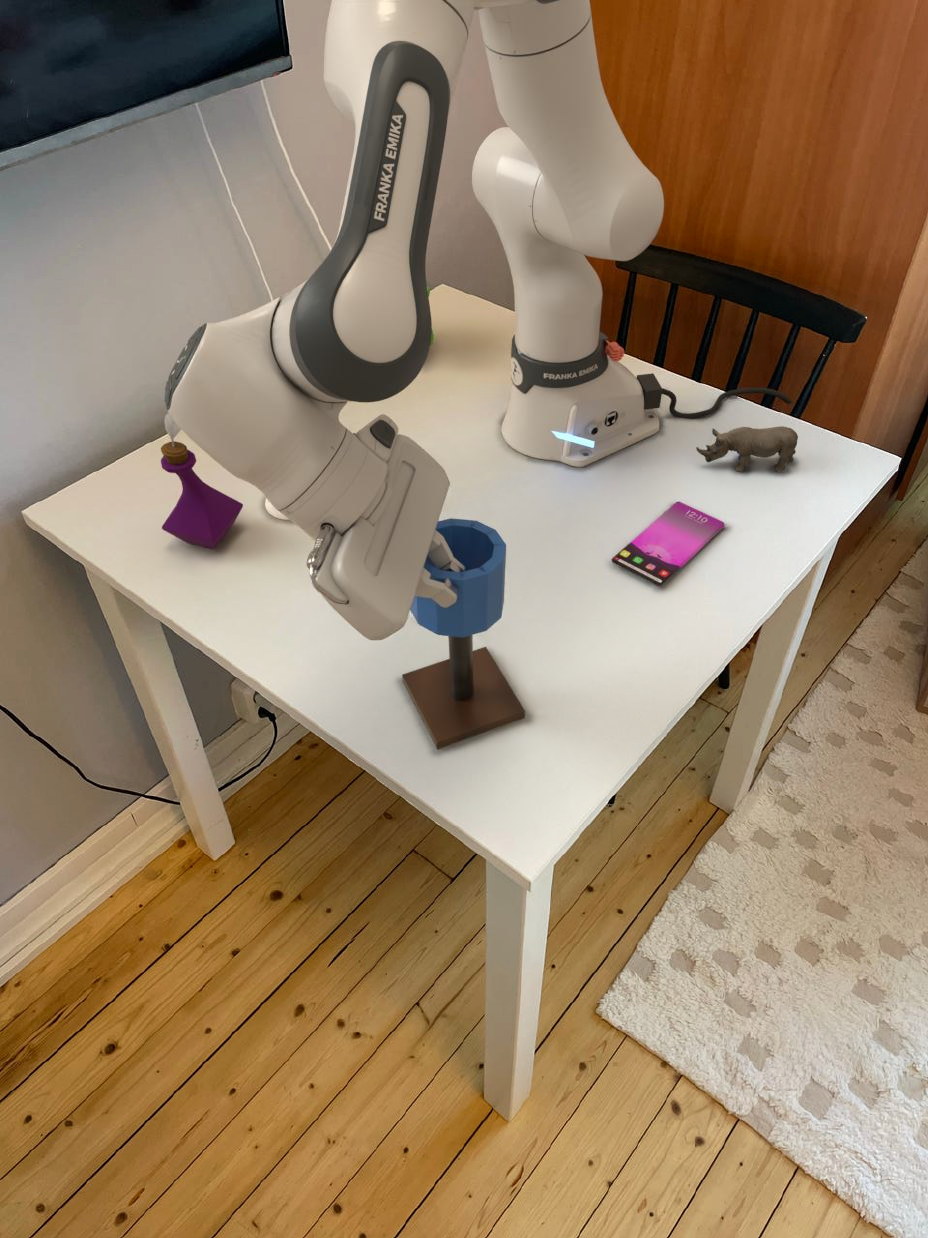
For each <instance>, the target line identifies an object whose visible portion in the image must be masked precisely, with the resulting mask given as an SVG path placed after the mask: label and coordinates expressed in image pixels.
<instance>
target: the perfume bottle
mask: <svg viewBox="0 0 928 1238" xmlns="http://www.w3.org/2000/svg"><path fill="white" fill-rule="evenodd" d="M163 421H164V429H165V431H166V433H167V434H168V436H169V438H170V441H168V442H166V443H164V444H162V446H161V447H160V452H161V454H162V457H161V459H160V465H161V469H162V470H164V472H167V473H169V474H175V475H177V476H178V478H179V480H180V482H181V486H182V487H181V488H182V491H181V494H180V496H179V498H178V500H177V502H176V504H175V506H174V508H173V509H172V511H170V514H169V515H168V516H167V518H166V519H165V521H164V523H163V524H162V525H161V529H162V530H163V531H165V532H166V533H168V534H170V535H172V536H173V537H176V538H177V539H179V540H181V541H182V542H185V543H186V544H190V545H193V546H194V545H195V546H199V547H203V548H207V549H211V550H215V549H216V548H217V547H218V546H219V545H220V543H221V542H222V541H223V539H224V538H225V537H226V536H227V534H228V533H230V531H231V530H232V527H233V526H234V524H235V522H236V520H237V519H238V516H239V515H240V513H241V511H242V509H243V507H244V504H243V503H242V502H240V501H238V500H236V499H235V498H233V497H231V496H229V495H227V494H225V493H223V492H222V491H219V490H218V489H216V488H214V487H212V486H211V485H209V484H207V483H206V482H204V481H203V480H202V479H201V478H200V476H198V475H197V473H196V472H195V471H194V470H193V468H194V467H195V465H196V463H197V458H196V454H195V453H194V452H192V451H191V450H190V449H188V446H187V445H185V444H184V443H182V442H180V441H174V439H175V438H176V437H177V436H178V434H179V433H180V432H181V431H182V430H181V429H180V427H179V426H178V425H177V424H176V423H175V422H174V420H173V419H172V417H171V416H170V414H169V412H168V411H167V413H166V415H165V416H164V420H163Z"/></svg>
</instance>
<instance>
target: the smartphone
mask: <svg viewBox="0 0 928 1238" xmlns="http://www.w3.org/2000/svg"><path fill="white" fill-rule="evenodd" d="M724 527H725V522H724V521H722V520H720V519H718V518H716V517H714V516H712V515H710V514H707V513H705V512H703V511H700V510H698V509H696V508H694V507H692V506H690V505H688V504H686V503H683V502H681V501H675V502H674V503H673V504H672V505H671V506H670V507H669V508H668V509H667V510H665V511H664V512H663V513H662V514H661V515H660V516H659V517H657V518H656V519H655V520H654V521H653V522H652V523H651V524H650V525H649V526H647V527H646V528H645V529H644V530H642V532H640V533H639V534H638V535H637V536H636V537H635V538H634V539H632V540H631V541H630V542H629V543H627V545H625V546H624V547H623V548H622V549H621V550H620V551H619V552H618V553H617V554H615V555H614V556H613V557H612V558H611V562H612V564H615V565H616V566H619V567H621V568H623V569H625V570H626V571H628V572H631V573H632V574H633V575H636V576H638V577H640V578H642V579H644V580H645V581H648V582H650V583H652V584H653V585H654V586H657V587H662V586H664V584H665V583H667V582H668V581H669V580H670V579H671V578H672V577H673V576H674V575H675V574H676V573H677V572H678V571H680V570H681V568H682V567H683V566H685V564H687V563H688V561H690V560H691V559H692V558H693V557H694V556H696V554H697V553H698V552H699V551H700V550H702V548H703V547H705V546H706V545H707V544H708V543H709V542H710V541H711V540H712V539H713V538H714V537H715V536H716V535H718V533H719V532H720V531H721V530H723V528H724Z"/></svg>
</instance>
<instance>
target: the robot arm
mask: <svg viewBox="0 0 928 1238" xmlns="http://www.w3.org/2000/svg"><path fill="white" fill-rule="evenodd" d="M474 11H477V12H478V19H479V26H480V30H481V36H482V41H483V45H484V49H485V53H486V59H487V63H488V68H489V73H490V78H491V83H492V87H493V92H494V96H495V101H496V105H497V109H498V111H499V114H500V115H501V117H502V119H503V121H504V123H505V124H506V125H507V126H503V127H499V128H497V129H495V130H493V131H492V132H491V133H489V135H488V136H486V138H485V139H484V140H483V142H482V143H481V144H480V146H479V148H477V149H478V150H477V151H476V154H475V157H474V161H473V163H472V168H471V170H472V171H471V185H472V191H473V193H474V197H475V198H476V200H477V202H478V203H479V205H481V207H482V208H483V209H484V210H485V212H486V214H487V215H488V216H489V218H490V220H491V221H492V223H493V226H494V228H495V230H496V232H497V235H498V236H499V239H500V242H501V244H502V248H503V250H504V253H505V256H506V260H507V263H508V266H509V270H510V273H511V279H512V284H513V292H514V293H513V294H514V295H513V297H514V334H513V336H512V338H511V345H510V348H511V349H510V365H509V366H510V379H511V387H510V393H509V399H508V404H507V409H506V412H505V416H504V418H503V421H502V423H501V427H500V429H501V435H502V437H503V439H504V441H505V443H506V444H508V445H509V446H510V447H511V448H512V449H513V450H515V451H517V452H519V453H520V454H522V455H525V456H528V457H530V458H535V459H540V460H547V461H554V462H555V461H556V462H560V463H563V464H566V465H568V466H572V467H576V468H583V467H586V466H588V465H591V464H593V463H595V462H597V461H598V460H601V459H604V458H606V457H607V456H610V455H612V454H614V453H617V452H619V451H621V450H622V449H624V448H626V447H629V446H632V445H633V444H636V443H639V442H640V441H642V440H645V439H647V438H649V437H651V436H653V435H655V434H657V433H658V432H659V431H660V419H659V415H658V413H657V412H656V410H655V409H661V403H662V396H663V395H665V396H666V397H668V398H669V399H670V403H669V407H668V410H669V413H670V414H671V415H672V416H674V417H675V418H677V419H678V418H679V419H686V420H687V419H688V420H689V419H690V420H692V419H698V418H702V417H707V416H710V415H712V414H715V413H716V412H717V411H718V409H719V408H720V407H721V405H722V402H723V401H724V400H725V399H726V398H730V397H733V396H739V395H744V394H745V395H746V394H763V395H764V394H766V395H770V396H774V397H776V398H778V399H780V400H781V401H782V402H784V403H785V404H787V405H790V404H793V401H792V399H791V398H789V397H788V396H787V395H786V394H784V393H783V392H780V391H778V390H775V389H773V388H767V387H744V388H738V389H737V388H736V389H732V390H728V391H725V392H723V393H721V394H719V396H718V397H717V398H716V401H715V402H714V404H713V406H712V407H710V408H708V409H705V410H701V411H697V412H691V413H684V412H680V411H678V410H676V406H677V402H678V401H677V396H676V394H675V393H674V392H672V390H670V389H667V388H663V387H662V386H661V383H660V382H659V381H658V379H657V377H656V376H655V374H654V373H643V374H637V375H636V376H635V374H634V373H633V372H632V371H631V370H630V369H629V368H628V367H627V366H625V365H624V364H623V363H621V362H620V361H621V360H622V358H624V356H625V350H624V348H623V347H622V346H621V345H620V344H619V343H618V342H617V341H611V342H610V341H609V337H608V336H607V335H606V334H605V333H603V332H602V331H600V329H601V328H600V327H601V317H602V305H603V296H604V295H603V294H604V292H603V286H602V282H601V279H600V277H599V274H598V273H597V271H596V269H594V266H592V265H591V263H590V262H589V260H588V259H587V258H586V256H587V257H588V258H594V259H595V258H596V259H601V260H602V259H603V260H609V261H618V262H628V261H630V260H633V259H634V258H636V257H638V256H639V255H641V254H643V252H645V250H646V249H647V248H648V247H649V246H650V245H651V243H652V242H653V240H654V239H655V238H656V236H657V234H658V233H659V229H660V227H661V225H662V222H663V218H664V211H665V198H664V192H663V187H662V184H661V182H660V180H659V179H658V177H657V176H655V175H654V174H653V173H652V172H651V170H650V169H648V167H647V166H646V165H644V164H643V162H642V161H641V159H640V158H639V156H638V155H637V154H636V153H635V151H634V150H633V148H632V147H631V145H630V144H629V142H628V140H627V139H626V137H625V135H624V133H623V131H622V129H621V127H620V125H619V123H618V121H617V119H616V116H615V114H614V113H613V110H612V108H611V106H610V103H609V100H608V97H607V96H606V92H605V90H604V89H605V88H604V85H603V82H602V79H601V72H600V67H599V60H598V54H597V48H596V39H595V32H594V25H593V19H592V18H593V17H592V8H591V1H590V0H331V1H330V7H329V12H328V16H327V22H326V28H325V36H324V47H323V48H324V49H323V72H322V73H323V76H322V79H323V85H324V87H325V89H326V92H327V94H328V96H329V98H330V99H331V102H332V103H333V104H334V106H335V107H336V109H337V110H338V111H339V112H340V114H341V115H342V116H343V117H344V118H345V119H346V120H347V121H349V122H350V123H352V125H354V130H355V131H354V147H353V152H352V156H351V161H350V167H349V172H348V178H347V183H346V190H345V195H344V201H343V205H342V206H343V207H342V211H341V216H340V221H339V227H338V231H337V235H336V238H335V241H334V243H333V244H332V247H331V249H330V251H329V252H328V254H327V256H326V257H325V258H324V260H323V261H322V262H321V264H320V265H319V266H318V267H317V269H316V270H315V271H314V272H313V273H312V274H311V276H310V277H309V278H308V279H306V280H305V281H304V282H302V283H301V282H300V284H298V285H296V286H294V287H293V288H292V289H290V290H288V291H287V292H285V293H283V294H282V295H280V296H278V297H276V298H275V299H273V300H271V301H269V302H267V303H266V304H263V305H262V306H259V307H257V308H255V309H253V310H250V311H248V312H245V313H243V314H240V315H237V316H234V317H231V318H228V319H225V320H221V321H218V322H205V323H204V324H202V325H201V326H199V327H198V328H197V329H196V330H195V331H194V333H193V334H192V335H191V336H190V337H189V339H188V340H187V343H186V345H185V346H184V347H183V348H182V349H181V352H180V354H179V355H178V357H177V359H176V361H175V363H174V364H173V367H172V369H171V371H170V372H169V375H168V379H167V381H166V383H165V388H164V402H165V405H166V406H165V407H166V410H167V413H168V412H169V414H170V416H171V417H172V419H173V420H174V422H175V423H176V424H177V425H178V426H179V427H180V429H181V430H180V431H182V432H183V433H184V434H185V435H186V436H187V437H188V438H189V439H190V440H191V441H193V443H194V444H196V446H197V447H199V449H201V450H202V451H203V452H204V453H205V454H206V455H208V457H210V458H211V459H213V461H215V462H216V463H217V464H219V465H220V466H221V467H222V468H223V469H225V470H226V471H227V472H228V473H230V475H232V476H234V477H235V478H237V479H239V480H242V481H243V482H247V483H249V484H251V485H252V486H254V487H255V488H257V490H259V491H260V492H261V493H262V494H263V495H264V497H265V499H266V498H267V499H268V500H269V502H270V503H271V504H272V506H273V507H274V508H275V509H277V510H278V511H279V512H280V513H282V514H283V515H284V516H286V517H287V518H288V519H289V520H288V521H290V522H292V523H293V524H294V525H295V526H297V527H298V528H299V529H300V530H301V531H303V532H304V533H306V534H307V535H308V536H309V537H311V538H312V539H313V540H315V541H314V545H313V549H312V550H310V552H309V554H308V557H307V560H306V567H307V568H308V572H309V578H310V580H311V585H312V587H313V588H314V589H315V590H316V591H317V592H318V593H319V594H320V595H321V596H322V597H323V598H324V600H325V601H326V602H327V603H328V604H329V606H330V607H331V608H332V609H333V610H334V611H335V612H336V613H337V614H338V615H340V617H341V618H343V620H344V621H346V622H347V623H348V624H349V626H351V627H352V628H353V629H355V630H356V631H357V632H358V633H359V634H361V635H362V636H363V637H364V638H365V639H367V640H369V641H383V640H386V639H388V638H389V637H390V636H392V635H394V634H396V633H397V632H398V631H400V630H401V629H403V628H404V627H405V626H406V623H407V620H408V617H409V614H410V612H411V610H410V608H411V605H412V602H413V599H414V596H419V597H425V598H432V599H433V600H434V601H435V602H437V603H438V604H439V605H440V606H442V607H444V608H447V607H449V606H451V605H452V604H454V603H455V602H456V600H457V596H458V592H459V587H458V586H456V585H454V584H453V582H452V581H450V580H449V579H448V578H446V579H444V580H443V581H441V582H438V581H435V580H432V579H429V578H430V576H431V574H430V573H429V572H428V571H427V570H426V569H425V568H423V567H424V564H425V561H426V558H427V555H428V556H429V557H430V559H431V560H432V562H433V563H434V565H435V566H436V568H438V569H440V570H443V571H454V572H464V570H465V567H464V565H462V564H461V563H460V562H459V561H458V560H457V559H455V558H454V557H453V554H452V552H451V550H450V548H449V547H448V545H447V543H446V541H445V539H444V537H443V536H442V535H441V534H440V533H439V532H438V531H436V526H437V523H438V521H440V516H441V514H442V510H443V507H444V505H445V501H446V497H447V494H448V491H449V488H450V485H451V482H450V479H449V476H448V475H447V472H446V470H445V469H444V467H443V466H442V465H441V464H440V463H439V462H438V461H437V460H436V459H435V458H434V457H433V456H432V455H431V454H430V453H429V452H427V451H426V450H425V449H424V448H423V447H422V446H420V445H419V444H418V443H417V442H416V441H415V440H413V439H412V438H411V437H409V436H407V435H406V434H402V433H401V434H399V426H398V425H397V423H396V422H395V421H394V420H393V419H392V418H391V417H389V416H388V415H387V414H384V413H383V414H380V415H378V416H377V417H375V418H374V419H372V420H371V421H370V422H369V423H367V424H366V425H365V426H363V427H362V428H361V429H359V430H358V431H356V433H355V432H352V431H351V430H350V429H348V428H347V427H346V426H345V425H344V424H343V423H341V422H340V413H341V411H342V410H343V408H344V407H345V406H346V405H347V403H348V402H354V403H376V402H380V401H384V400H387V399H390V398H392V397H395V396H396V395H398V394H399V393H401V392H402V391H404V390H405V389H407V387H409V386H410V385H411V384H412V383H413V382H414V381H415V380H416V378H417V377H418V375H419V374H420V373H421V371H422V369H423V368H424V365H425V363H426V361H427V358H428V355H429V352H430V348H431V345H430V344H431V336H432V330H433V327H432V325H433V324H432V323H433V322H432V312H431V306H430V297H429V298H428V292H427V286H428V283H427V273H426V271H427V270H426V260H427V259H426V258H427V251H428V250H427V249H428V241H429V235H430V230H431V223H432V218H433V213H434V206H435V200H436V195H437V189H438V184H439V178H440V171H441V166H442V160H443V155H444V154H443V153H444V148H445V141H446V135H447V128H448V119H449V115H450V111H451V106H452V105H451V104H452V101H453V98H454V94H455V91H456V89H457V85H458V81H459V77H460V73H461V69H462V66H463V61H464V57H465V53H466V49H467V45H468V40H469V36H470V32H471V26H472V22H473V16H474Z"/></svg>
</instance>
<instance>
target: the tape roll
mask: <svg viewBox="0 0 928 1238" xmlns="http://www.w3.org/2000/svg"><path fill="white" fill-rule="evenodd" d="M436 531H438V532H439V533H440V534H441V535H442V536H443V537H444V539H445V541H446V543H447V545H448V547H449V548H450V550H451V552H452V554H453V557H454V558H455V559H457V560H458V561H459V562H460V563H461V564H462V565H464V567H465V570H464V572H454V571H443V570H440V569H438V568H436V566H435V565H434V563H433V562H432V560H431V559H430V557H429V556H428V555H427V558H426V561H425V564H424V567H423V568H425V569H426V570H427V571H428V572H429V573H430V574H431V576H430V578H429V579H432V580H435V581H438V582H441V581H443V580H444V579H446V578H448V579H449V580H450V581H452V582H453V584H454V585H456V586H458V587H459V592H458V596H457V600H456V602H455V603H454V604H452V605H451V606H449V607H447V608H444V607H442V606H440V605H439V604H438V603H437V602H435V601H434V600H433V599H432V598H425V597H419V596H414V599H413V602H412V605H411V608H410V612H411V614H412V615H413V618H414V619H415V621H416V623H417V625H419V626H420V627H423V628H424V629H426V630H428V631H430V632H431V633H433V634H434V635H438V636H445V637H448V636H453V637H466V636H470V635H472V636H473V635H478V634H480V633H485V632H487V631H488V630H489V629H490V628H492V626H494V625H495V624H496V623H497V622H498V621H499V620H500V619H502V614H503V610H504V605H505V590H506V589H505V587H506V561H507V543H506V542H505V541H504V539H503V538H502V536H501V535H500V534H499V532H498V530H497V529H495V528H493V527H491V526H489V525H487V524H485V523H482V522H481V521H479V520H473V519H463V518H451V517H450V518H446V519H443V520H438V523H437V526H436Z"/></svg>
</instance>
